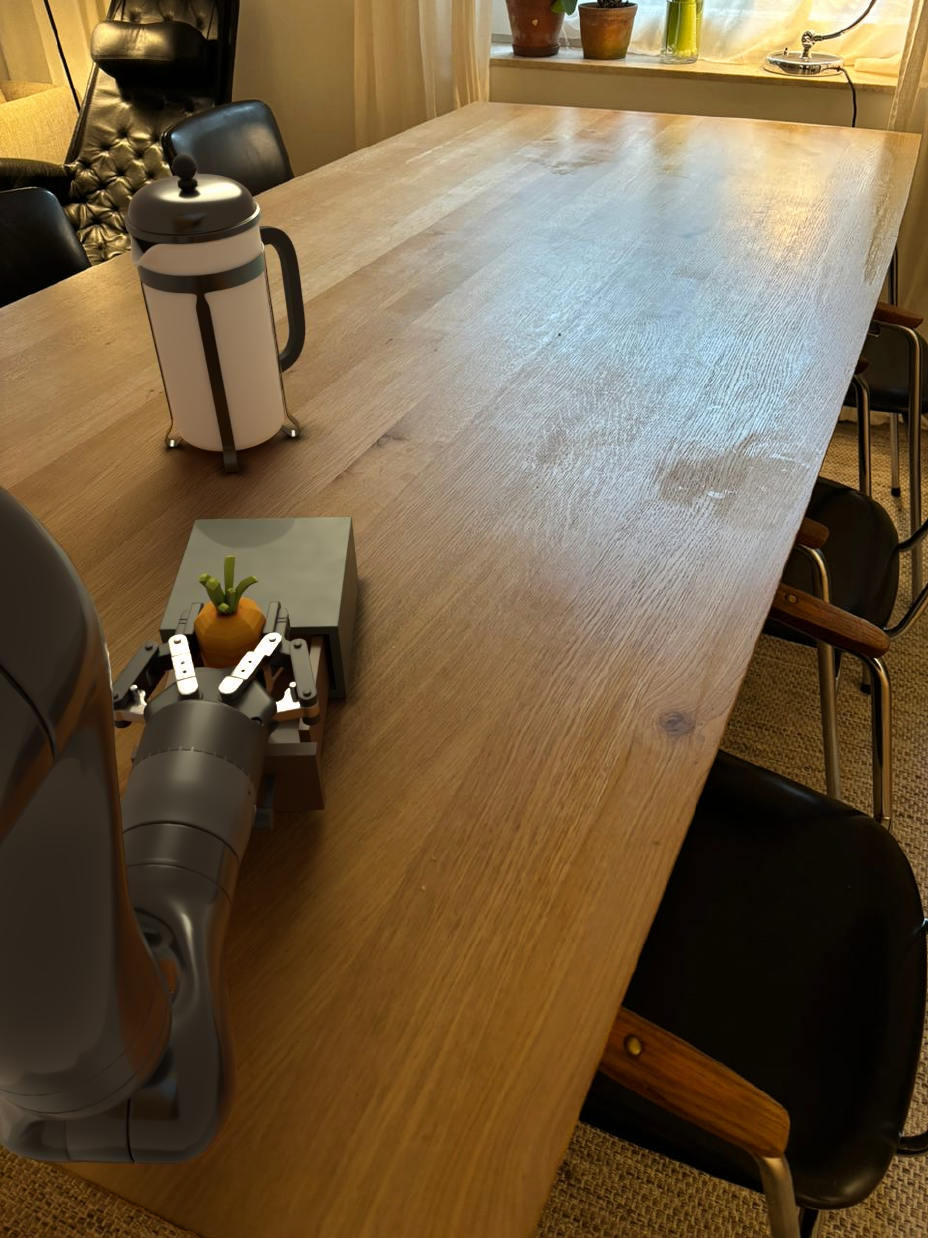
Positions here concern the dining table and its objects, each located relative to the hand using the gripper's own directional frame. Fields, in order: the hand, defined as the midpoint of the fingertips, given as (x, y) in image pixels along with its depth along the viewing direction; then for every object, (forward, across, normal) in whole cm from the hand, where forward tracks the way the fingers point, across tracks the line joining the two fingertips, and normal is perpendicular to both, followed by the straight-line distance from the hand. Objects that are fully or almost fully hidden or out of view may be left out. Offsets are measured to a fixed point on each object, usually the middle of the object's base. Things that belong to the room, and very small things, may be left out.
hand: (238, 612), depth 71 cm
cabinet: (+9, 0, +11) cm, 15 cm away
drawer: (-5, 0, +10) cm, 11 cm away
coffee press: (+45, +9, +11) cm, 47 cm away
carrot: (-3, 0, +9) cm, 10 cm away
